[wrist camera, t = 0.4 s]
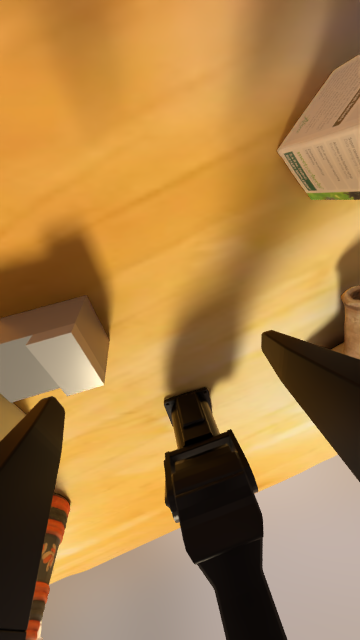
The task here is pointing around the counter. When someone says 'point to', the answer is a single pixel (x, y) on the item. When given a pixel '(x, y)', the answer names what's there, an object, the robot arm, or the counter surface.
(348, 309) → the tan knobby branched lump
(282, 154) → the syrup box
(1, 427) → the green roller block
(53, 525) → the beer stein
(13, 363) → the grey stepped block
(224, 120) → the counter surface
